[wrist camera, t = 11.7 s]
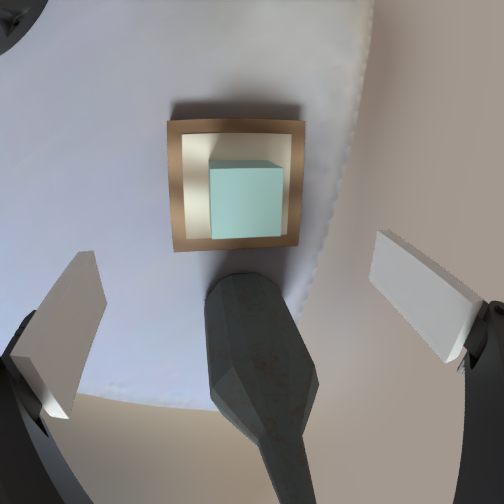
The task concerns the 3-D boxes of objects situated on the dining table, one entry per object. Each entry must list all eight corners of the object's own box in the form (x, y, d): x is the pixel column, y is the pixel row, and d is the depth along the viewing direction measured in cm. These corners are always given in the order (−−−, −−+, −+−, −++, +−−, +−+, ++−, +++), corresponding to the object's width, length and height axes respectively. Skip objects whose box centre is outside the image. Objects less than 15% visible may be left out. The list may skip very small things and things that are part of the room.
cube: (208, 161, 28) (210, 169, 23) (267, 160, 29) (283, 168, 24) (209, 218, 31) (211, 239, 25) (266, 216, 31) (280, 236, 26)
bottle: (283, 268, 38) (406, 494, 11) (278, 328, 42) (356, 528, 15) (201, 272, 36) (228, 542, 9) (206, 334, 40) (233, 555, 13)
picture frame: (169, 121, 28) (166, 120, 26) (297, 121, 30) (305, 121, 28) (175, 243, 34) (173, 252, 31) (291, 237, 36) (298, 246, 34)
